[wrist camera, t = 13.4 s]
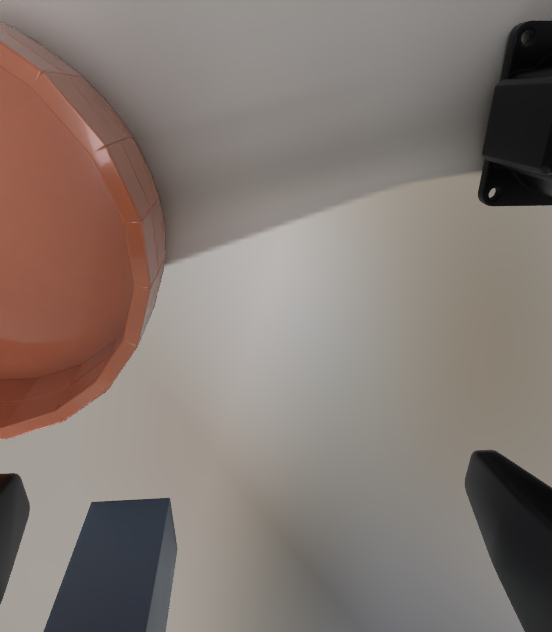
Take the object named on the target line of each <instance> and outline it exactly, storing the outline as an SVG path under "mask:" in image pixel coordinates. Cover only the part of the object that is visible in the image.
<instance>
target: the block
mask: <svg viewBox="0 0 552 632" xmlns="http://www.w3.org/2000/svg"><path fill="white" fill-rule="evenodd" d="M176 554H177V544H176V537H175V530H174V523H173V516H172V509H171V502H170V498H160V499H142V500H123V501H105V502H92V503H91V505H90V508H89V511H88V513H87V516H86V519H85V522H84V524H83V527H82V530H81V532H80V535H79V538H78V540H77V543H76V546H75V548H74V551H73V554H72V557H71V559H70V562H69V565H68V567H67V570H66V573H65V576H64V578H63V581H62V584H61V586H60V589H59V592H58V595H57V597H56V600H55V602H54V605H53V608H52V610H51V613H50V616H49V619H48V621H47V624H46V627H45V629H44V632H165V631H166V624H167V617H168V610H169V603H170V596H171V589H172V582H173V575H174V568H175V562H176Z"/></svg>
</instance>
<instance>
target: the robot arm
mask: <svg viewBox="0 0 552 632" xmlns="http://www.w3.org/2000/svg"><path fill="white" fill-rule="evenodd" d="M525 31H527V32H528V34H529V40H528V42H527V43H526V44H525V45H523V43H522V42H521V37H522V35H523V33H524V32H525ZM482 154H483V156H484V158H485V161H484V166H483V171H482V176H481V181H480V186H479V191H478V198H479V200H480V201H481V202H482V203H484V204H486V205H489V206H536V205H552V21H528V22H524V23H520V24H519V25H517V26H516V27H515V28H514V29H513V30H512V32H511V34H510V37H509V40H508V45H507V50H506V55H505V60H504V65H503V70H502V75H501V80H500V82H499V84H498V85H497V86H496V87H495V91H494V96H493V101H492V106H491V111H490V116H489V121H488V126H487V131H486V136H485V142H484V147H483V152H482ZM492 188H495V189H496V192H495V194H494V196H493V197H491V198H489V196H488V194H489V192H490V190H491V189H492ZM465 488H466V492H467V495H468V498H469V501H470V504H471V506H472V509H473V512H474V515H475V517H476V520H477V523H478V525H479V528H480V531H481V534H482V536H483V539H484V542H485V545H486V547H487V550H488V553H489V556H490V558H491V561H492V563H493V566H494V568H495V570H496V572H497V574H498V577H499V579H500V581H501V583H502V585H503V587H504V589H505V591H506V593H507V596H508V598H509V600H510V602H511V604H512V606H513V608H514V610H515V612H516V614H517V616H518V619H519V621H520V623H521V625H522V627H523V629H524V631H525V632H552V488H551V487H550V486H548V485H547V484H545V483H544V482H542V481H540V480H539V479H538V478H536V477H535V476H533V475H532V474H530V473H529V472H527V471H526V470H524V469H522V468H521V467H520V466H518V465H516V464H515V463H514V462H512V461H510V460H509V459H507V458H506V457H504V456H503V455H501V454H500V453H498V452H496V451H494V450H478V451H474V452H473V453H472V455H471V458H470V462H469V466H468V470H467V473H466V477H465ZM29 509H30V506H29V501H28V498H27V495H26V492H25V489H24V486H23V483H22V480H21V478H20V476H19V475H18V474H15V473H11V474H0V604H1V601H2V599H3V596H4V593H5V590H6V587H7V584H8V581H9V577H10V574H11V571H12V568H13V565H14V561H15V558H16V555H17V552H18V549H19V545H20V542H21V539H22V536H23V532H24V529H25V526H26V523H27V520H28V516H29V511H30V510H29Z"/></svg>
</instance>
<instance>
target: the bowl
mask: <svg viewBox="0 0 552 632" xmlns="http://www.w3.org/2000/svg"><path fill="white" fill-rule="evenodd" d="M165 249H166V248H165V225H164V220H163V214H162V208H161V203H160V199H159V196H158V193H157V189H156V186H155V183H154V180H153V177H152V174H151V172H150V170H149V168H148V166H147V163H146V161H145V159H144V157H143V155H142V152H141V150H140V149H139V147H138V145H137V144H136V142H135V140H134V139H133V137H132V135H131V134H130V132H129V130H128V129H127V127H126V126H125V124H124V123H123V122H122V120H121V119H120V118H119V116H118V115H117V114H116V113H115V111H114V110H113V109H112V107H111V106H110V105H109V103H108V102H107V101H106V100H105V99H104V98H103V97H102V96H101V95H100V94H99V93H98V92H97V91H96V90H95V89H94V87H93V86H92V85H91V84H90V83H89V82H88V81H87V80H86V79H85V78H84V77H82V76H81V75H80V74H79V73H78V72H76V71H75V70H74V69H73V68H72V67H71V66H69V65H68V64H67V63H66V62H65V61H63V60H62V59H61V58H60V57H58V56H57V55H55V54H54V53H52V52H51V51H49V50H48V49H46V48H45V47H43V46H42V45H40V44H39V43H37V42H36V41H34V40H33V39H31V38H29V37H27V36H25V35H24V34H22V33H21V32H20V31H18V30H17V29H14V28H13V27H11V26H8V25H5V24H3V23H0V439H8V438H13V437H16V436H19V435H22V434H25V433H29V432H32V431H35V430H38V429H41V428H45V427H48V426H51V425H54V424H57V423H61V422H63V421H65V420H66V419H68V418H69V417H71V416H72V415H73V414H75V413H76V412H78V411H79V410H81V409H82V408H84V407H85V406H86V405H88V404H89V403H90V402H92V401H93V400H95V399H96V398H97V397H99V396H100V395H102V394H103V393H105V392H106V391H107V390H108V389H109V388H110V387H111V385H112V384H113V382H114V380H115V379H116V378H117V376H118V375H119V373H120V372H121V370H122V369H123V367H124V366H125V364H126V363H127V361H128V360H129V359H130V357H131V355H132V354H133V352H134V351H135V350H136V348H137V346H138V344H139V342H140V340H141V337H142V335H143V332H144V330H145V327H146V325H147V323H148V321H149V318H150V316H151V313H152V311H153V309H154V306H155V302H156V298H157V293H158V290H159V286H160V282H161V278H162V274H163V269H164V263H165V259H166V258H165V256H166V255H165Z"/></svg>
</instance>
